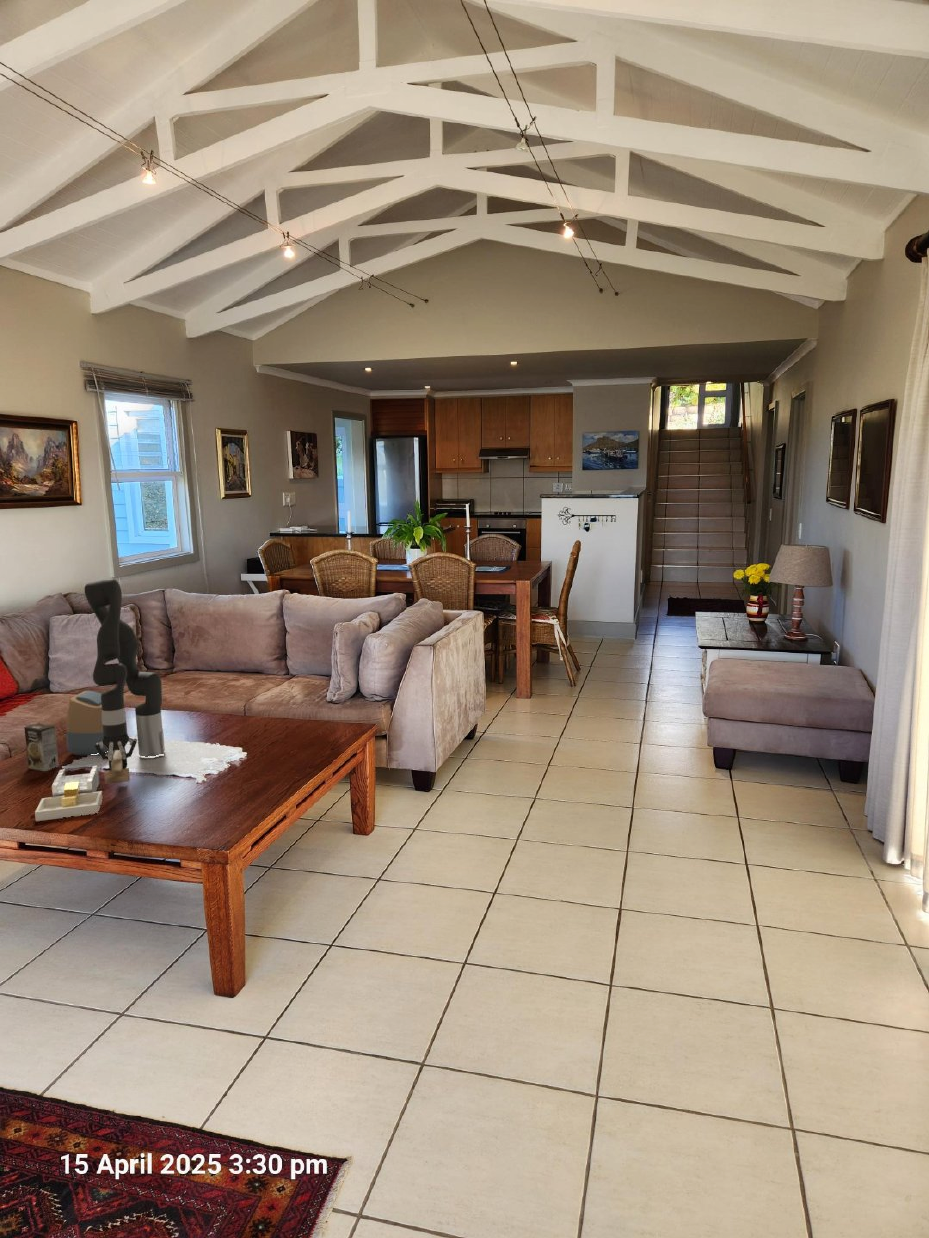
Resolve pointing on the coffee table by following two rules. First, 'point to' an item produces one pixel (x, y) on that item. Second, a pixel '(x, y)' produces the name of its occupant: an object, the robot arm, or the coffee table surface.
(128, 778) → the beige wedge bookend
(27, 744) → the coffee box
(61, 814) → the tray
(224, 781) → the coffee table surface
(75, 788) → the block
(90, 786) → the channel
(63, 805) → the block
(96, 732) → the two-tone rounded housing
